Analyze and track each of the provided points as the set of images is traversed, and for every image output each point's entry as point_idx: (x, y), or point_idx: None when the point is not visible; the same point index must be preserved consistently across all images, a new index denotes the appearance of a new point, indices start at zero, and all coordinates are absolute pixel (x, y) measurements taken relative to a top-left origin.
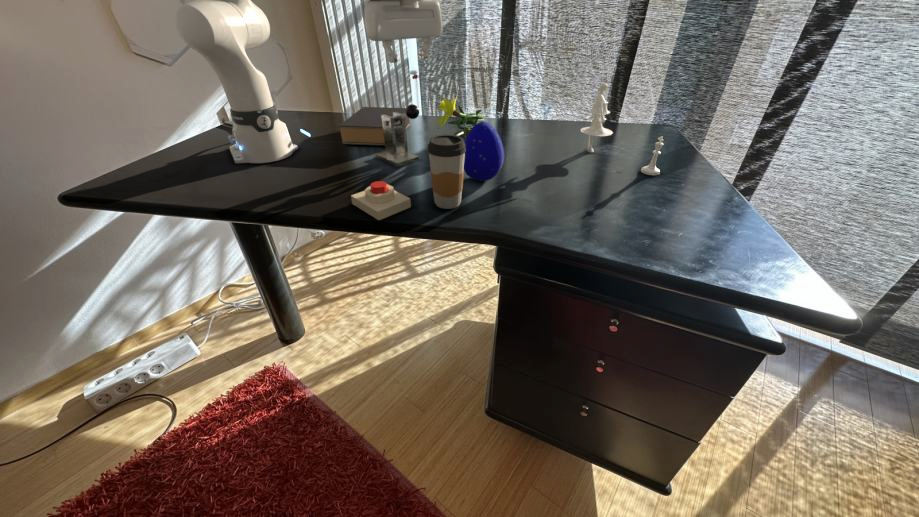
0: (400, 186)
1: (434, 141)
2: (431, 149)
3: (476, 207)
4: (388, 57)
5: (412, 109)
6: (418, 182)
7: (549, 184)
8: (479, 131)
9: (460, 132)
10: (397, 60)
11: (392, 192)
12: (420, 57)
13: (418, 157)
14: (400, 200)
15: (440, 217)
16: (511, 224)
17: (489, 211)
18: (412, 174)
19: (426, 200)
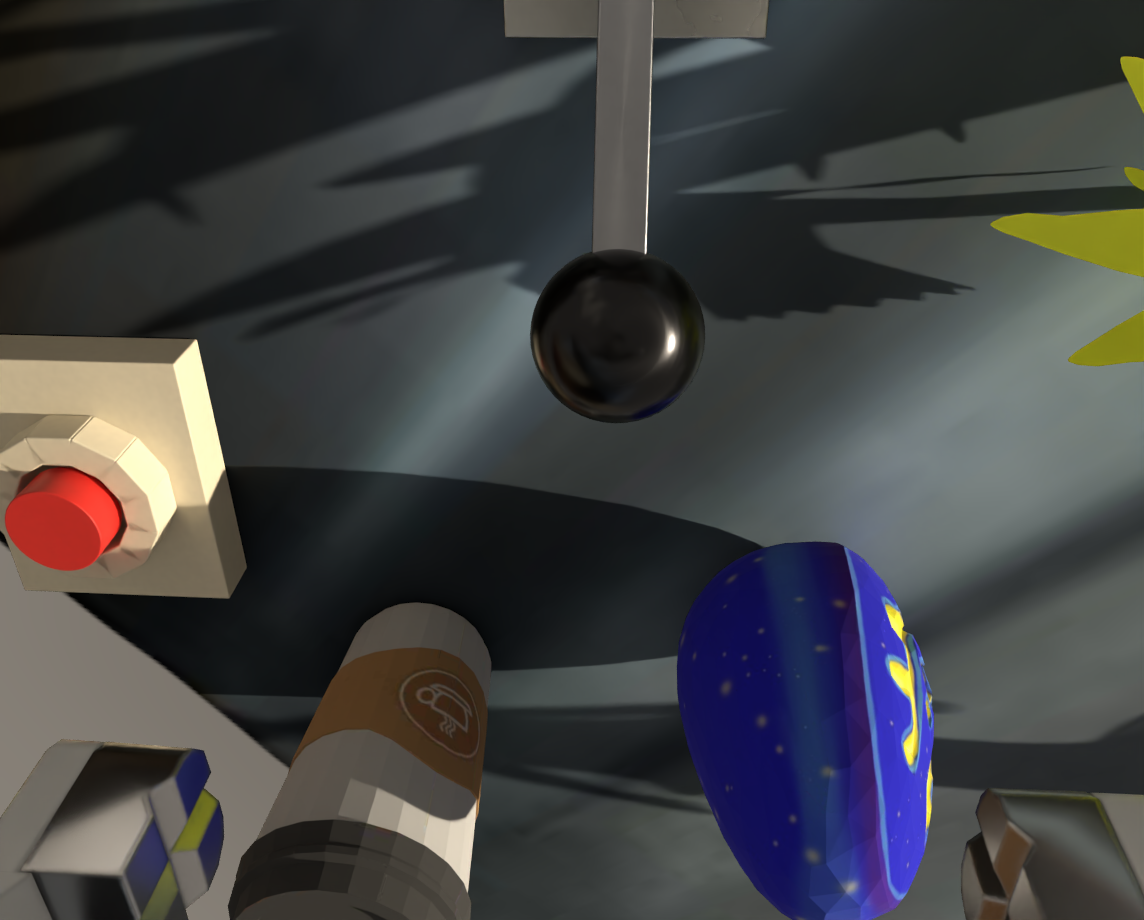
0: (330, 341)
1: (270, 918)
2: (230, 910)
3: (503, 749)
4: (15, 817)
5: (572, 408)
6: (460, 375)
7: (968, 837)
8: (755, 881)
9: None
10: (211, 870)
11: (131, 569)
12: (987, 824)
13: (759, 36)
14: (174, 581)
15: (311, 705)
16: (506, 886)
17: (520, 797)
18: (512, 243)
19: (355, 567)
